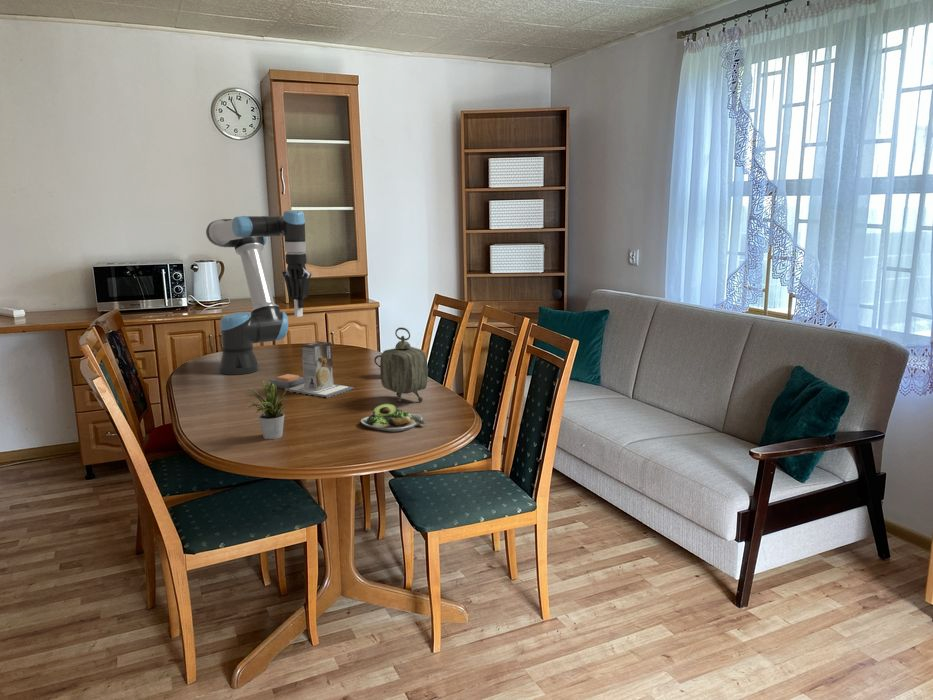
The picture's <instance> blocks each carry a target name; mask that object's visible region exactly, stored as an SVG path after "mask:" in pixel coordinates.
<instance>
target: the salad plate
mask: <svg viewBox="0 0 933 700" xmlns="http://www.w3.org/2000/svg"><path fill="white" fill-rule="evenodd" d="M359 423H360V425H361V426H362V427H364V428H365V429H368V430H373V429H374V430H375V431H380V430H381V431H382V432H390V433H391V432H404V431H408V429H409V430H411V429H413V428H416V427H417V426H419V425H424V424H427V422H426V421H425V420H423V417H422V416H421V414H418V413H410V412H408V411H406V410H404V411H403V410H402V409H398V407H397V406H396V405H395V404H392V403H383V404H379V405H377V406H375V407H374V409H373V411H372V414H371V415H369V416H366V417H363V418H361V419H360V421H359ZM389 426H390V427H389ZM397 426H398V427H397ZM400 426H401V427H400Z"/></svg>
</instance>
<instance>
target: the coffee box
mask: <svg viewBox="0 0 933 700" xmlns="http://www.w3.org/2000/svg"><path fill="white" fill-rule="evenodd" d="M332 350H333V349H332V342H329V341H327V342H326V341H320V340H319V341H315V342H310V343H306V344H302V345H301V358H302V359H301V361H302V374H303V376H302V377H303V378H304V389H306V390H313V391H319V390H322V389H325V388H328V387H330V386H333V385H334V384H335V383H334V369H333V368H334V367H333V351H332Z"/></svg>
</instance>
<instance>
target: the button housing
mask: <svg viewBox="0 0 933 700" xmlns="http://www.w3.org/2000/svg"><path fill="white" fill-rule="evenodd" d="M270 382H271V386H272V382H274V383H273V384H274V387H275V385H276V386H277V387H278V388H277V389H282V388H285V389H286V388H289V387H293V386H296V385H299V384H303V383H304V378H303V376H299V379H295V380H292V381H282V380H277V377H275V378H272V379H269V383H270Z"/></svg>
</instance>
